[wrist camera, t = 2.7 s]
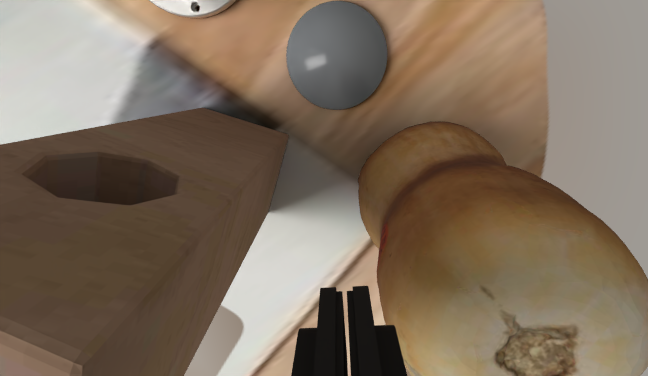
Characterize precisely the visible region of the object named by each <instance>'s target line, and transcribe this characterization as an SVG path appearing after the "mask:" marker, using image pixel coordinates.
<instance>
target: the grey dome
mask: <svg viewBox="0 0 648 376" xmlns="http://www.w3.org/2000/svg"><path fill="white" fill-rule="evenodd" d="M286 56H287V67H288V71H289V74H290V77H291V79H292V82H293V84H294V85H295V87H296V88H297V90H298V91H299V92H300V93H301V94H302V95H303V96H304V97H305V98H306V99H307V100H308V101H310V102H311V103H313V104H315V105H317V106H319V107H322V108H326V109H333V110H340V109H346V108H350V107H353V106H355V105H358V104H359V103H361V102H363V101H364V100H365V99H367V98H368V97H369V96H370V95H371V94H372V93H373V92H374V91H375V89H376V88H377V87H378V85H379V83H380V82H381V80H382V77H383V75H384V72H385V69H386V64H387V45H386V40H385V37H384V34H383V31H382V29H381V27H380V26H379V24H378V23H377V21H376V20H375V19H374V17H373V16H372V15H371V14H370V13H368V12H367V11H366V10H365V9H363V8H361V7H360V6H358V5H355V4H353V3H349V2H344V1H331V2H326V3H323V4H320V5H318V6H316V7H313V8H312V9H311V10H309V11H308V12H306V13H305V14H304V15H303V16H302V17H301V18H300V20H299V21H298V22H297V24H296V25H295V27H294V28H293V30H292V33H291V35H290V38H289V41H288V46H287V55H286Z"/></svg>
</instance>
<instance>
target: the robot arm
mask: <svg viewBox="0 0 648 376" xmlns="http://www.w3.org/2000/svg"><path fill="white" fill-rule="evenodd" d="M149 1H151V2H152V3H153V4H155V5H156V6H157V7H159V8H161V9H163V10H165V11H167V12H169V13H172V14H175V15H177V16H181V17H186V18H205V17H209V16H213V15H216V14H218V13H220V12H222V11H223V10H225V9H227V8H228V7H229V6H230V5H232V4H233V3H234V2H235V1H236V0H149ZM198 6H200V10H199V11H197V7H198ZM347 302H348V323H349V343H350V364H351V376H407V374H406V369H405V365H404V361H403V356H402V352H401V348H400V344H399V340H398V336H397V332H396V328H395V326H394V325H379V326H374V320H373V314H372V308H371V301H370V295H369V288H368V286H355V287H353V291H347ZM291 376H348V370H347V350H346V337H345V323H344V310H343V296H342V291H339V292H336V287H333V288H321V289H320V300H319V312H318V324H317V328H300V329H299V332H298V337H297V343H296V350H295V356H294V362H293V369H292V375H291Z"/></svg>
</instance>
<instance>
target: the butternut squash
mask: <svg viewBox="0 0 648 376" xmlns="http://www.w3.org/2000/svg"><path fill="white" fill-rule="evenodd" d="M358 183H359V192H358V193H359V206H360V213H361V218H362V221H363V223H364V225H365V228H366V230H367V232H368V234H369V236H370V238H371V239H372V241H373V243H374V244H375V245H376V246H377V247H378V248H379V257H378V266H377V283H378V287H379V294H380V302H381V306H382V310H383V316H384V320H385V323H386V325H394V326H395V328H396V332H397V336H398V340H399V344H400V348H401V352H402V356H403V361H404V364H405V366H406V368H407V369H408V371H409V373H410V374H411V376H640V375H641V374H642V373H643V372H644V371H645V369H646V368H647V367H648V279H647V277H646V275H645V273H644V271H643V269H642V268H641V266H640V265H639V263H638V261H637V260H636V259H635V258H634V256H633V255H632V253H631V252H630V250H629V249H628V248H627V246H626V245H625V244H624V243H623V241H622V240H621V239H620V238H619V237H618V236H617V234H616V233H615V232H614V231H612V230H611V229H610V228H609V227H608V226H607V225H606V224H605V223H604V222H603V221H602V220H601V219H599V218H598V217H597V216H595V215H594V214H593V213H591V212H590V211H588V210H587V209H586V208H584V207H583V206H582V205H581V204H579V203H578V202H577V201H576V200H574V199H573V198H572V197H570V196H569V195H568V194H566V193H565V192H563V191H562V190H561V189H559V188H558V187H556V186H554V185H552V184H551V183H549V182H547V181H545V180H543V179H541V178H539V177H538V176H536V175H534V174H532V173H529V172H527V171H524V170H521V169H518V168H516V167H512V166H506V163H505V161H504V159H503V157H502V156H501V154H500V153H499V152H498V151H497V150H496V149H495V148H494V147H493V146H492V145H491V144H490V143H489V142H488V141H486V140H485V139H484V138H483V137H481V136H480V135H479V134H477V133H476V132H474V131H473V130H471V129H469V128H467V127H464V126H461V125H458V124H454V123H449V122H427V123H423V124H419V125H415V126H411V127H408V128H406V129H404V130H402V131H400V132H398V133H397V134H395V135H394V136H392V137H391V138H389V139H388V140H386V141H385V142H384V143H383V144H381V145H380V146H379V148H378V149H377V150H376V151H375V152H374V153H373V154H372V155H371V156H370V157H369V158H368V159H367V161H366V163H365V164H364V166H363V167H362V169H361V172H360V175H359V178H358Z"/></svg>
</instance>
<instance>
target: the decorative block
mask: <svg viewBox="0 0 648 376" xmlns="http://www.w3.org/2000/svg"><path fill="white" fill-rule="evenodd" d="M288 138H289V135H287V134H285V133H282V132H279V131H276V130H273V129H269V128H266V127H263V126H260V125H257V124H253V123H250V122H247V121H244V120H241V119H238V118H234V117H231V116H228V115H225V114H222V113H218V112H215V111H212V110H209V109H206V108H198V109H192V110H187V111H181V112H176V113H170V114H165V115H159V116H154V117H149V118H143V119H138V120H132V121H127V122H121V123H116V124H111V125H105V126H100V127H94V128H89V129H83V130H78V131H73V132H67V133H62V134H56V135H51V136H45V137H40V138H35V139H29V140H24V141H18V142H13V143H7V144H2V145H0V376H184V374H185V372H186V370H187V368H188V367H189V365H190V362H191V360H192V359H193V357H194V355H195V353H196V351H197V349H198V347H199V345H200V343H201V341H202V339H203V337H204V335H205V334H206V332H207V330H208V328H209V326H210V324H211V322H212V320H213V318H214V316H215V314H216V312H217V310H218V308H219V306H220V305H221V303H222V301H223V299H224V297H225V295H226V293H227V291H228V289H229V287H230V285H231V283H232V281H233V279H234V277H235V275H236V274H237V272H238V270H239V268H240V266H241V264H242V262H243V260H244V258H245V256H246V254H247V252H248V250H249V248H250V246H251V245H252V243H253V241H254V239H255V237H256V235H257V233H258V231H259V229H260V227H261V225H262V223H263V221H264V219H265V217H266V215H267V214H268V211H269V207H270V204H271V200H272V196H273V193H274V189H275V186H276V182H277V178H278V175H279V171H280V167H281V164H282V160H283V157H284V153H285V149H286V146H287V142H288Z"/></svg>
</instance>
